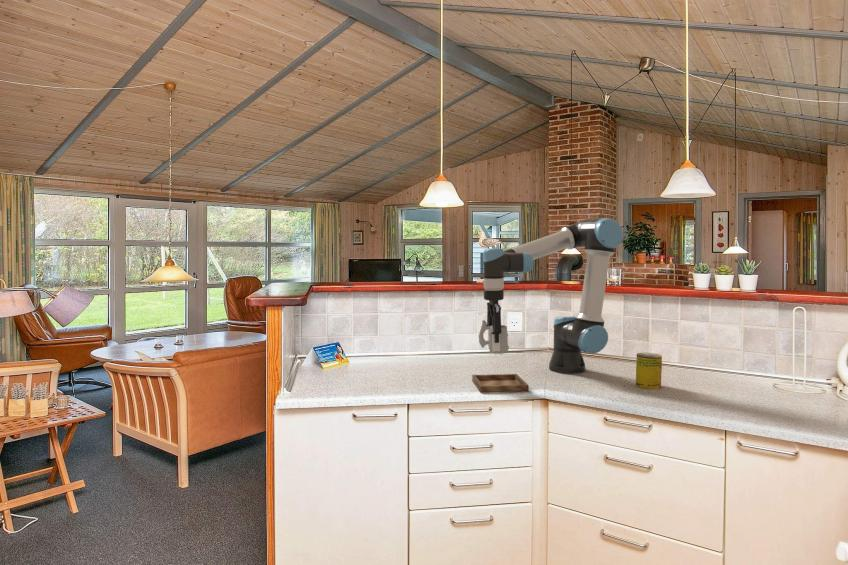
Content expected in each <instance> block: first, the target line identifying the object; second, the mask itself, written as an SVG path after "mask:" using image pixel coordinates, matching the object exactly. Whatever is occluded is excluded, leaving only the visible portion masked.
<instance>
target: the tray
mask: <svg viewBox="0 0 848 565" xmlns="http://www.w3.org/2000/svg"><path fill="white" fill-rule="evenodd" d="M471 381H472V383H473V384H474V386H475V387H476V388H477V390H478V391H479V393H480V394H486V393H487V394H491V393H496V394H497V393H526V392H527V393H529V392H530V391H529V390H530V389H529V384H528V383H527V382H526V381H525V380H524V379H523V378H522V377H520V376H519V374H517V373H502V374H500V373H499V374H497V373H496V374H495V373H494V374H472V375H471Z"/></svg>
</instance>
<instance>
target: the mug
mask: <svg viewBox="0 0 848 565" xmlns="http://www.w3.org/2000/svg"><path fill="white" fill-rule="evenodd" d="M481 322H482V324H481V326H480V331H479V332H478V333H479V334H478V343H479V345H480V347H481V348H485V347H486V346H488V344H490V345H489V347H488V350H489V353H491V354H494V355H495V354H498V355H499V354H501V355H502V354H503V355H504V354H508V352H509V349H510V346H509V343H508V341H509V339H508V337H509V334H508V326H507V325H504V324H501V331H502V332H501V333H500V351H493V335H492V334H491V333H492V332H493V325H492V326H490V327H487V320H485V319H482V321H481ZM486 330H487V331H488V330H490V334H489V336H490V340H488V339H487V340H485V338H484V333H485V332H486Z"/></svg>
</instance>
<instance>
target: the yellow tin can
mask: <svg viewBox="0 0 848 565" xmlns="http://www.w3.org/2000/svg"><path fill="white" fill-rule="evenodd" d="M662 362H663V355H661V354H660V353H655V352H637V353H636V362H635V363H636V366H635V369H636V370H635V387H638V388H641V389H647V390H659V389H661V387H662V370H663V369H662V366H663V363H662Z"/></svg>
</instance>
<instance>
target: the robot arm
mask: <svg viewBox="0 0 848 565" xmlns="http://www.w3.org/2000/svg"><path fill="white" fill-rule="evenodd" d="M623 238H624V232H623V229H622V225H620V223H619V222H618V221H617V220H615V219H613V218H608V217H607V218H606V217H601V218H587V219H582V220H580V221H578V222H575V223H572V224H570V225H567V226H565V227H562V228H561V230H560V231H558V232H555V233H552V234H548V235H546V236H543V237H540V238H537V239H534V240H532V241H529V242H526V243H523V244H520V245H518V246H517V245H516V246H514V247H512V248H509V249H505V250H504V249H503V248H501V247H500V248H499V247H498V248H486V249H484V251H483V258H482V263H483V280H481V281H482V282H481V283H482V284H483V289H484V290H483V299H484V300H485V301H488V302H486V307H487V311H486V323H487V327H490V326H492V325H493V332H492V333H491V334H492V335H493V351H500V333H501V332H502V331H501V325H502V314H501V313H502V312H501V310H502V306H500V305H501V304H500V303H499V301H503V300H504V298H505V296H504V294H505V293H504V289H505V287H504V286H505V283H504V282H505V277H504V274H509V273H510V274H511V273H512V274H513V273H514V274H516V273H522V274H523V273H529V272H531V271H532V270H533V268H534V261H535V260H537V259H540V258H543V257H546V256H548V255H551V254H555V253H557V252H560V251H564V250H566V249H567V250H572V249H576V248H584V250H583V251H584V252H585V254H586V255H587V258H586V263H585V271H584V277H583V278H584V279H583V285H582V291H581V292H582V293H581V299H580V306H579V313H578V314H576V316H573V315H571V316H558V317H557V316H556V317H555V319H554V321H553V352H552V355H551V357H550V360H549V362H548V369H549V370H550V371H552V372H555V373H561V374H581V373H584V372H586V362H585V360H584V357H583V354H582V352H583V353H587V354H597V353H599V352H601V351H602V350H604V348H605V347H606V346H607V344H608V342H609V333H608V332H607V329H606V328H605V319H603V317H602V313H603V306H604V299H605V293H606V292H605V291H606V286H607V279H608V278H607V277H608V272H609V265H610V264H609V263H610V258H611V257H612V256H613V255H614V254H615V251H616V250H615V249H616V248H618V246H619V245H620V244H621V243H622V240H623ZM487 334H488V335H487V338H488V339H487V340H490V336H489V334H490V330H487ZM489 345H490V344H487V346H488V348H489Z"/></svg>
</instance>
